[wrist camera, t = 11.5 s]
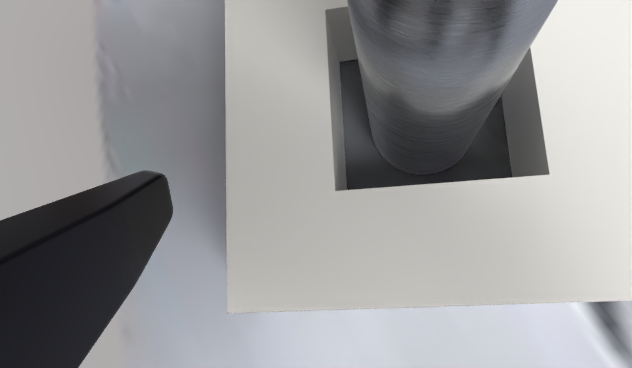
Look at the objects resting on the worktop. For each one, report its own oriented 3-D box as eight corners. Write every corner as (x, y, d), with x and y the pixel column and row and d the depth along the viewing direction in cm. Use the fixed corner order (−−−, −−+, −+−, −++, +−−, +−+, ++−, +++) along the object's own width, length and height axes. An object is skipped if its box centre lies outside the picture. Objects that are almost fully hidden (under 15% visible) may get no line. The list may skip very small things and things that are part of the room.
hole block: (638, 290, 14) (717, 297, 10) (263, 303, 16) (226, 313, 12) (576, -51, 16) (624, -137, 13) (256, -2, 18) (224, -65, 15)
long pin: (494, 146, 15) (946, -421, 3) (399, 192, 16) (410, -126, 3) (443, 61, 16) (607, -662, 4) (354, 106, 16) (218, -420, 4)
